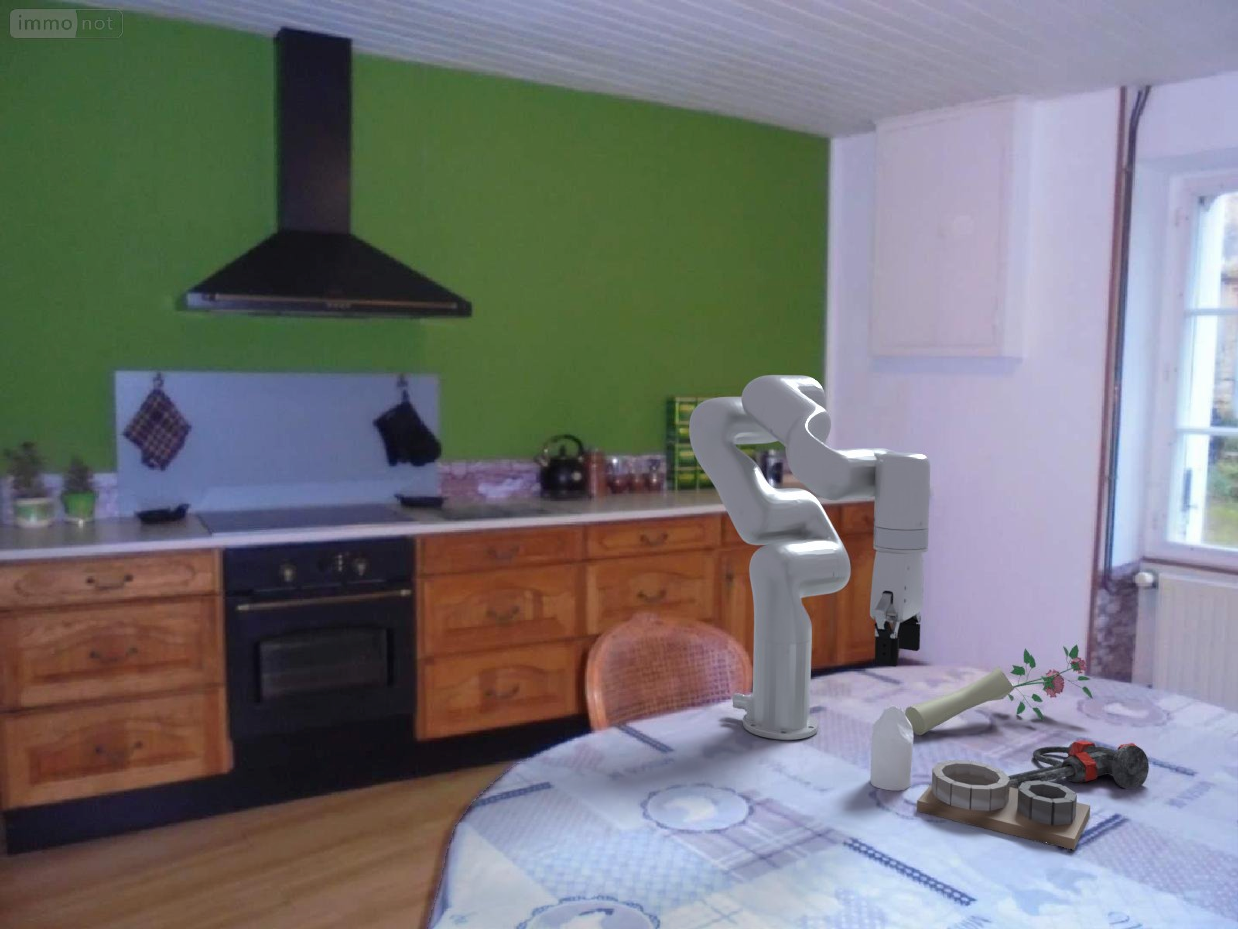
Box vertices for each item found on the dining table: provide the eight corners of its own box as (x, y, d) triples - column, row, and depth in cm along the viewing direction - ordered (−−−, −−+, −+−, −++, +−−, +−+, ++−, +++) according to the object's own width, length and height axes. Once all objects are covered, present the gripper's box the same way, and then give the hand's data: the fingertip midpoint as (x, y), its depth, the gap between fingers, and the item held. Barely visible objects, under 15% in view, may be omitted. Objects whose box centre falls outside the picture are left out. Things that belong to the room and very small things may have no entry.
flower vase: (910, 768, 173) (1059, 699, 187) (956, 774, 162) (1111, 700, 175) (887, 701, 175) (1037, 637, 188) (931, 702, 163) (1087, 634, 177)
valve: (1091, 760, 164) (1170, 782, 150) (959, 789, 155) (1030, 815, 141) (1088, 720, 164) (1166, 739, 150) (956, 747, 156) (1026, 769, 141)
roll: (903, 696, 151) (922, 709, 145) (900, 774, 152) (918, 790, 147) (866, 699, 150) (883, 711, 144) (863, 777, 151) (880, 793, 145)
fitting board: (916, 811, 140) (918, 779, 139) (941, 781, 150) (943, 752, 149) (1073, 850, 129) (1075, 816, 128) (1089, 816, 139) (1091, 784, 138)
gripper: (894, 529, 154) (891, 640, 156) (853, 545, 140) (851, 667, 141) (944, 534, 150) (941, 647, 152) (907, 550, 136) (904, 675, 137)
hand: (897, 656), depth 146 cm, fingers open, 9 cm apart
